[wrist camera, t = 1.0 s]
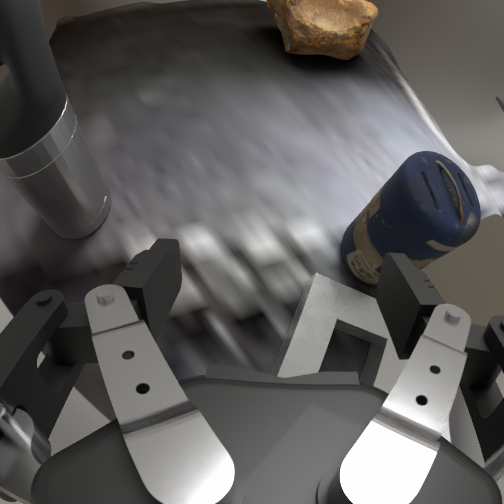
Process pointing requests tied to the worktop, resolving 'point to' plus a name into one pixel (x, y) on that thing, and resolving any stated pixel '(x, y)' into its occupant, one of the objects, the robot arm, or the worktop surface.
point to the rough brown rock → (324, 26)
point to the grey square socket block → (344, 319)
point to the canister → (413, 217)
